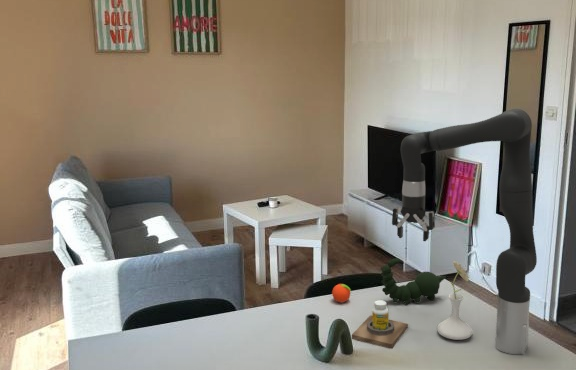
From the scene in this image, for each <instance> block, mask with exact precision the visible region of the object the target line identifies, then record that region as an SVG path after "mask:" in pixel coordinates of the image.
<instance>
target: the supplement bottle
mask: <svg viewBox="0 0 576 370" xmlns="http://www.w3.org/2000/svg"><path fill="white" fill-rule="evenodd" d="M373 304H374V305H373V306H374V307H373V308H372V309H371V312H372V315H371V316H372V321H373V328H374V329H377V330H386V329H388V319H389V309H388V307H387V302H386V301H385V300H382V299H379V300H376V301H374V303H373Z"/></svg>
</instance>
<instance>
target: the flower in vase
mask: <svg viewBox="0 0 576 370" xmlns="http://www.w3.org/2000/svg"><path fill="white" fill-rule="evenodd" d="M452 264H453V267H454V268H455V270H456V272H457V273H456V275H455V277H454V278H453V282H452V281H451V282H450V284H451V286H452V288H453V289H452V290H453V293H449V294H448V298H449V300H450V302H451V315H450V316H449V317H448V318H446V319H445V320H442V321H441V322H440V323H438V325H437V327H436V330H437V332H438V333H439V335H440V336H442V337H444V338H446V339H450V340H460V341H462V340H466V339H469V338H471V336H472V335H473V329H472V327H471V325H469V324H468V323H467V322H466V321H464V320H463V319H462V318H461V316H460V306H461V303H462V301H463V300H464V298H465V296H464V295H463V294H461V293H458V292H460V291H462V289H461V288H460V289H457V290H456V289H455V281H456V279H457V277H458V275H460V277H461V278H462V279H463V280H464V281H466V282H469V281H470V280H469V279H470V277H469V275H468V274H467V270H466V269H464V267H463V266H462V264H461V263H460V262H459V263H458V262H457V260H453V261H452Z"/></svg>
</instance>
